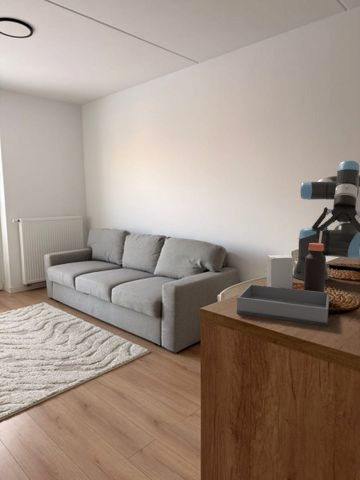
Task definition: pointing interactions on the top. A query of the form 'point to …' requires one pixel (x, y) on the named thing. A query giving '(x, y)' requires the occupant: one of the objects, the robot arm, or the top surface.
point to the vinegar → (315, 268)
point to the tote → (284, 304)
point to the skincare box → (280, 271)
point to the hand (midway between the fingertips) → (339, 251)
